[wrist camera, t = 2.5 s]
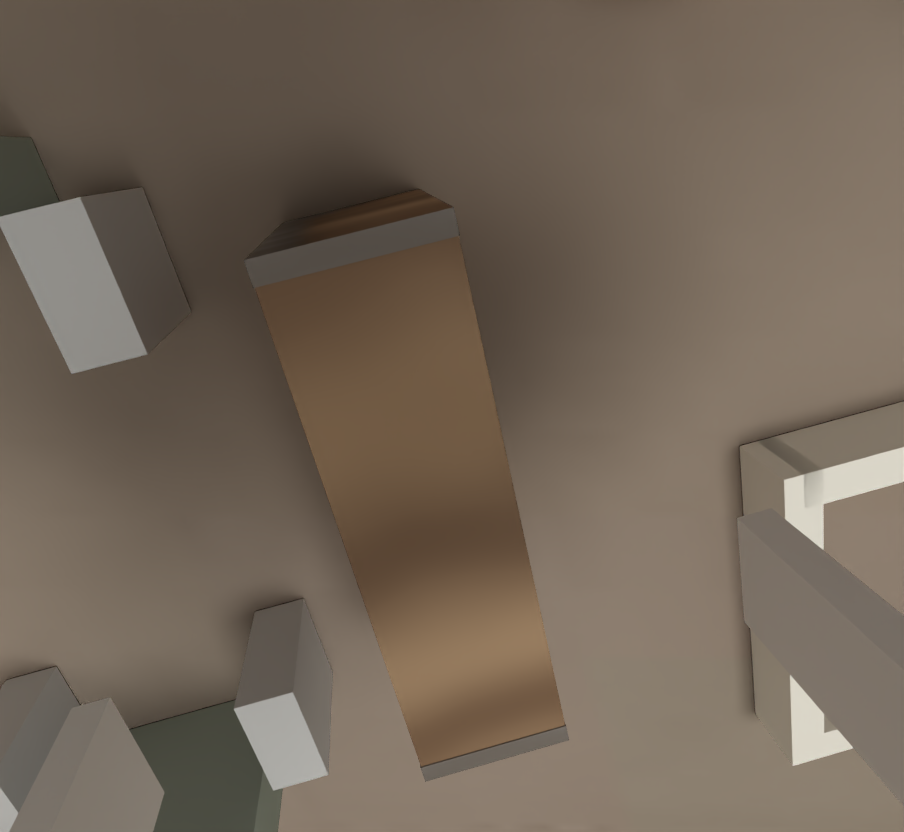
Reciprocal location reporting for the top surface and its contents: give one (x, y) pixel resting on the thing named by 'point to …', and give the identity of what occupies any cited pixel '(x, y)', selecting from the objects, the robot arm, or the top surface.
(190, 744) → the green fixture with posts
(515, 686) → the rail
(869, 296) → the top surface
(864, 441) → the frame
